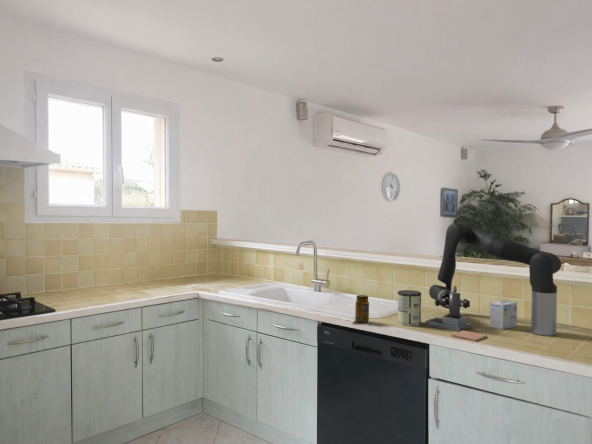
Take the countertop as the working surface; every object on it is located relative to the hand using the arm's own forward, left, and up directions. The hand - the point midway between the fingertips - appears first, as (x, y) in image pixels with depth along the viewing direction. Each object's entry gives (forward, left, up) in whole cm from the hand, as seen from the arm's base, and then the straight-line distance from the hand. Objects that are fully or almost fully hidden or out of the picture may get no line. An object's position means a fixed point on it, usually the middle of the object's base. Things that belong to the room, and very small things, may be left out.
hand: (455, 305), depth 195 cm
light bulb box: (-20, +12, -10) cm, 26 cm away
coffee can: (+6, -19, -10) cm, 22 cm away
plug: (-1, -1, -8) cm, 8 cm away
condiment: (+21, -34, -10) cm, 41 cm away
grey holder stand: (-1, -4, -10) cm, 11 cm away
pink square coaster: (+8, +10, -10) cm, 16 cm away
